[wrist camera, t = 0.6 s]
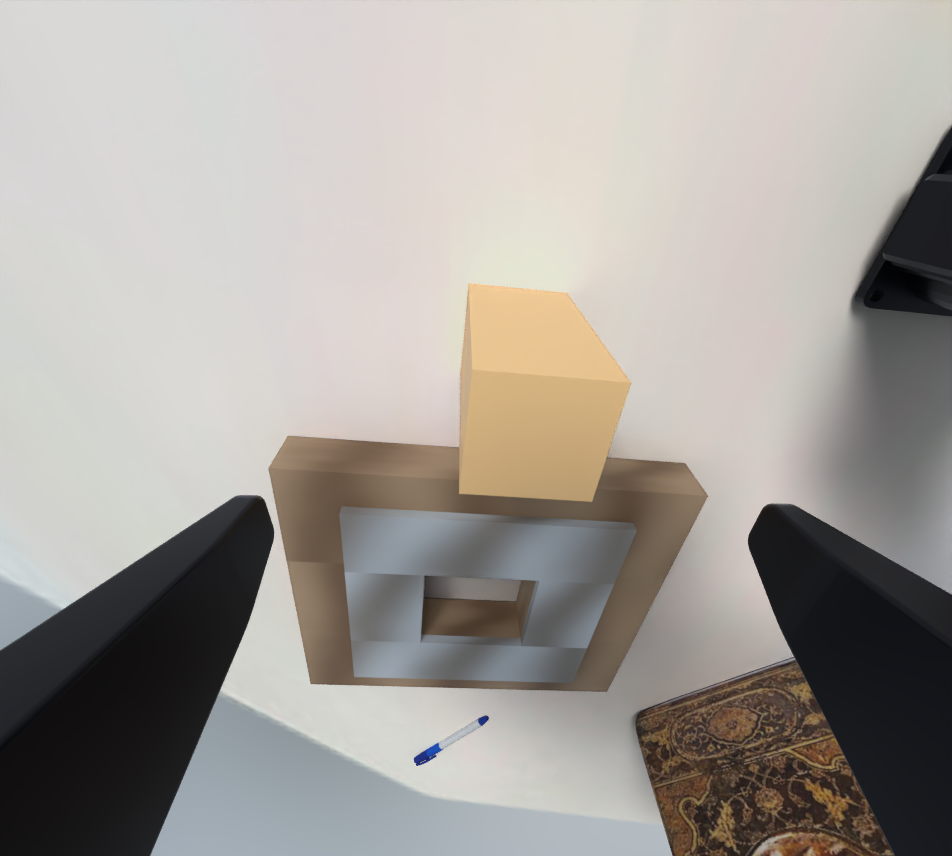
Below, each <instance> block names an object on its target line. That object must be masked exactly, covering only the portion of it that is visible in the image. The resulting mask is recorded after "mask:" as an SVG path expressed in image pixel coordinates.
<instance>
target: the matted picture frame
mask: <svg viewBox="0 0 952 856" xmlns="http://www.w3.org/2000/svg"><path fill="white" fill-rule="evenodd" d="M459 451H460V448H456V447H441V446H426V445H412V444H397V443H383V442H368V441H354V440H339V439H325V438H310V437H296V436H288V437H287V438H286V440H285V442H284V443H283V445H282V447H281V448H280V450H279V452H278V453H277V455H276V457H275V458H274V460H273V462H272V463H271V465H270V466H269V473H270V478H271V483H272V488H273V493H274V499H275V504H276V509H277V514H278V519H279V524H280V529H281V534H282V539H283V544H284V550H285V555H286V560H287V565H288V570H289V575H290V580H291V585H292V590H293V596H294V601H295V606H296V611H297V616H298V621H299V626H300V631H301V636H302V641H303V647H304V652H305V657H306V662H307V667H308V672H309V677H310V682H311V684H329V685H367V686H405V687H443V688H482V689H520V690H558V691H596V692H607V690H608V688H609V686H610V684H611V683H612V681H613V679H614V677H615V675H616V673H617V671H618V669H619V667H620V665H621V663H622V661H623V659H624V657H625V655H626V654H627V652H628V650H629V648H630V646H631V644H632V642H633V640H634V638H635V636H636V634H637V632H638V630H639V628H640V626H641V624H642V623H643V621H644V619H645V617H646V615H647V613H648V611H649V609H650V607H651V605H652V603H653V601H654V599H655V597H656V595H657V594H658V592H659V590H660V588H661V586H662V584H663V582H664V580H665V578H666V576H667V574H668V572H669V570H670V568H671V566H672V565H673V563H674V561H675V559H676V557H677V555H678V553H679V551H680V549H681V547H682V545H683V543H684V541H685V539H686V537H687V535H688V534H689V532H690V530H691V528H692V526H693V524H694V522H695V520H696V518H697V516H698V514H699V512H700V510H701V508H702V506H703V505H704V503H705V501H706V499H707V497H708V495H707V494H706V492H705V491H704V489H703V488H702V487H701V485H700V484H699V482H698V481H697V479H696V478H695V477H694V475H693V474H692V472H691V471H690V470H689V468H688V467H687V465H686V464H685V463H673V462H659V461H644V460H630V459H615V458H606V461H605V464H604V467H603V470H602V473H601V476H600V479H599V482H598V485H597V488H596V491H595V494H594V497H593V500H592V502H587V501H571V500H555V499H538V498H522V497H505V496H489V495H472V494H459ZM426 576H444V577H466V578H488V579H510V580H522V581H521V585H520V589H519V593H518V597H517V601H516V602H506V601H482V600H459V599H435V598H424V593H425V577H426Z"/></svg>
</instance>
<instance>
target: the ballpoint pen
mask: <svg viewBox="0 0 952 856" xmlns="http://www.w3.org/2000/svg"><path fill="white" fill-rule="evenodd" d="M488 719H489V717H488V716H484V717H481V718H479V719H477V720H475V721H474V722H472V723H471V724H469V725H467V726H466V727H464V728H462V729H461V730H459V731H457V732H456V733H454V734H452V735H451V736H449V737H448V738H446V739H444V740H443V741H441V742H439V743H437V744H436V745H434V746H432V747H430V748H429V749H427V750H425V751H424V752H422V753H421V754H419V755H418V756H416V757H415V758H414V762H415V763H416V766H418V765H422V764H424V763H426V762H428V761H430V760H431V759H433V758H435V757H436V755H435V754H436V753H438V752H440V751H441V750H443V749H444V748H445V747H447V746H449V745H450V744H452V743H454V742H455V741H457V740H459V739H461V738H462V737H464V736H466V735H467V734H469V733H471V732H472V731H474V730H476V729H477V728H479V727H481V726H483V725H484V724H485V723H486V722H487V721H488ZM433 755H434V756H433ZM431 756H432V757H431ZM429 757H431V758H429ZM424 760H426V761H424ZM422 761H424V762H422ZM420 762H422V763H420Z"/></svg>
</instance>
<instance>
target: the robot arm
mask: <svg viewBox="0 0 952 856" xmlns="http://www.w3.org/2000/svg"><path fill="white" fill-rule="evenodd" d="M874 291H876V292H875V294H874V295H873V296H872V297H871V295H872V293H873V292H874ZM870 297H871V298H870ZM856 301H857V302H858V304H861V305H863V306H866V307H869V308H875V309H885V310H895V311H905V312H915V313H925V314H935V315H945V316H952V128H951V129H950V131H949V133H948V135H947V136H946V138H945V140H944V142H943V143H942V145H941V147H940V149H939V150H938V152H937V154H936V156H935V157H934V159H933V161H932V163H931V164H930V166H929V168H928V170H927V171H926V173H925V175H924V177H923V178H922V180H921V182H920V184H919V185H918V187H917V189H916V191H915V192H914V194H913V196H912V198H911V199H910V201H909V203H908V205H907V207H906V208H905V210H904V212H903V214H902V215H901V217H900V219H899V221H898V222H897V224H896V226H895V228H894V229H893V231H892V233H891V235H890V236H889V238H888V240H887V242H886V243H885V245H884V247H883V249H882V250H881V252H880V254H879V256H878V257H877V259H876V261H875V263H874V264H873V266H872V268H871V270H870V271H869V273H868V275H867V277H866V278H865V280H864V282H863V284H862V285H861V287H860V289H859V291H858V293H857V295H856ZM273 540H274V528H273V524H272V521H271V518H270V515H269V512H268V509H267V506H266V503H265V501H264V499H263V498H262V497H261V496H257V495H239V496H235V497H234V498H232V499H230V500H229V501H227V502H226V503H224V504H223V505H221V506H220V507H218V508H217V509H215V510H214V511H212V512H211V513H209V514H208V515H206V516H205V517H203V518H201V519H200V520H198V521H197V522H195V523H194V524H192V525H191V526H189V527H188V528H186V529H185V530H183V531H182V532H180V533H179V534H177V535H176V536H174V537H172V538H171V539H169V540H168V541H166V542H165V543H163V544H162V545H160V546H159V547H157V548H156V549H154V550H153V551H151V552H150V553H148V554H147V555H145V556H144V557H142V558H140V559H139V560H137V561H136V562H134V563H133V564H131V565H130V566H128V567H127V568H125V569H124V570H122V571H121V572H119V573H118V574H116V575H115V576H113V577H112V578H110V579H108V580H107V581H105V582H104V583H102V584H101V585H99V586H98V587H96V588H95V589H93V590H92V591H90V592H89V593H87V594H86V595H84V596H83V597H81V598H80V599H78V600H76V601H75V602H73V603H72V604H70V605H69V606H67V607H66V608H64V609H63V610H61V611H60V612H58V613H57V614H55V615H54V616H52V617H51V618H49V619H47V620H46V621H44V622H43V623H41V624H40V625H38V626H37V627H35V628H34V629H32V630H31V631H29V632H28V633H26V634H25V635H23V636H22V637H20V638H18V639H17V640H15V641H14V642H12V643H11V644H9V645H8V646H6V647H5V648H3V649H2V650H0V856H150V855H151V853H152V850H153V848H154V845H155V843H156V841H157V838H158V836H159V833H160V831H161V829H162V826H163V824H164V822H165V819H166V817H167V814H168V812H169V810H170V807H171V805H172V803H173V800H174V798H175V796H176V793H177V791H178V789H179V786H180V784H181V781H182V779H183V777H184V774H185V772H186V770H187V767H188V765H189V763H190V760H191V758H192V755H193V753H194V751H195V748H196V746H197V744H198V741H199V739H200V737H201V734H202V732H203V729H204V727H205V725H206V722H207V720H208V718H209V715H210V713H211V710H212V708H213V706H214V703H215V701H216V699H217V696H218V694H219V692H220V689H221V687H222V684H223V682H224V680H225V677H226V675H227V673H228V670H229V668H230V666H231V663H232V661H233V658H234V656H235V654H236V651H237V649H238V647H239V644H240V642H241V640H242V637H243V635H244V632H245V630H246V627H247V625H248V622H249V619H250V616H251V613H252V610H253V607H254V603H255V600H256V597H257V594H258V590H259V587H260V584H261V580H262V577H263V574H264V570H265V567H266V564H267V560H268V557H269V554H270V550H271V547H272V544H273ZM748 545H749V550H750V552H751V555H752V557H753V560H754V563H755V565H756V568H757V570H758V573H759V576H760V578H761V581H762V583H763V586H764V589H765V591H766V594H767V596H768V599H769V602H770V604H771V607H772V609H773V612H774V615H775V617H776V619H777V622H778V624H779V626H780V629H781V631H782V633H783V635H784V637H785V639H786V641H787V644H788V646H789V648H790V650H791V651H792V653H793V655H794V657H795V659H796V661H797V663H798V665H799V667H800V669H801V671H802V673H803V675H804V677H805V679H806V681H807V683H808V685H809V687H810V689H811V691H812V693H813V695H814V697H815V699H816V701H817V703H818V705H819V707H820V709H821V711H822V713H823V715H824V717H825V719H826V721H827V723H828V725H829V727H830V729H831V731H832V733H833V735H834V737H835V739H836V741H837V743H838V745H839V747H840V749H841V751H842V753H843V755H844V757H845V759H846V761H847V763H848V765H849V767H850V769H851V771H852V773H853V775H854V777H855V779H856V781H857V783H858V785H859V787H860V789H861V791H862V793H863V795H864V797H865V799H866V801H867V803H868V805H869V807H870V809H871V811H872V813H873V815H874V817H875V819H876V821H877V823H878V824H879V826H880V828H881V830H882V832H883V834H884V836H885V838H886V840H887V842H888V844H889V846H890V848H891V850H892V852H893V854H894V856H952V595H951V594H950V593H948V592H946V591H944V590H943V589H941V588H939V587H937V586H935V585H934V584H932V583H930V582H928V581H927V580H925V579H923V578H921V577H920V576H918V575H916V574H914V573H913V572H911V571H909V570H907V569H906V568H904V567H902V566H900V565H899V564H897V563H895V562H893V561H892V560H890V559H888V558H886V557H885V556H883V555H881V554H879V553H877V552H876V551H874V550H872V549H870V548H869V547H867V546H865V545H863V544H862V543H860V542H858V541H856V540H855V539H853V538H851V537H849V536H848V535H846V534H844V533H842V532H841V531H839V530H837V529H835V528H834V527H832V526H830V525H828V524H827V523H825V522H823V521H821V520H820V519H818V518H816V517H814V516H812V515H811V514H809V513H807V512H805V511H804V510H802V509H800V508H798V507H797V506H795V505H792V504H767V505H766V506H765V507H763V509H762V510H761V512H760V514H759V516H758V518H757V520H756V522H755V524H754V526H753V528H752V530H751V532H750V534H749V537H748Z"/></svg>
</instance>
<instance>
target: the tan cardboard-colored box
mask: <svg viewBox="0 0 952 856" xmlns="http://www.w3.org/2000/svg"><path fill="white" fill-rule="evenodd" d="M630 385H631V382H630V380H629V379H628V378H627V376H626V375H625V373H624V372H623V371H622V369H621V368H620V366H619V365H618V364H617V362H616V361H615V359H614V358H613V357H612V355H611V354H610V352H609V351H608V350H607V348H606V347H605V345H604V344H603V343H602V341H601V340H600V338H599V337H598V336H597V334H596V333H595V331H594V330H593V329H592V327H591V326H590V325H589V323H588V322H587V320H586V319H585V318H584V316H583V315H582V313H581V312H580V311H579V309H578V308H577V306H576V305H575V304H574V302H573V301H572V299H571V298H570V297H569V295H568V294H567V293H562V292H552V291H541V290H531V289H521V288H511V287H501V286H490V285H480V284H470V283H469V285H468V296H467V307H466V318H465V329H464V340H463V351H462V361H461V372H460V451H459V494H472V495H489V496H505V497H522V498H538V499H555V500H571V501H587V502H592V500H593V497H594V494H595V491H596V488H597V485H598V482H599V479H600V476H601V473H602V470H603V467H604V464H605V461H606V458H607V455H608V452H609V449H610V446H611V443H612V439H613V436H614V433H615V430H616V427H617V424H618V421H619V418H620V415H621V412H622V409H623V406H624V403H625V400H626V397H627V394H628V391H629V388H630Z"/></svg>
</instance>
